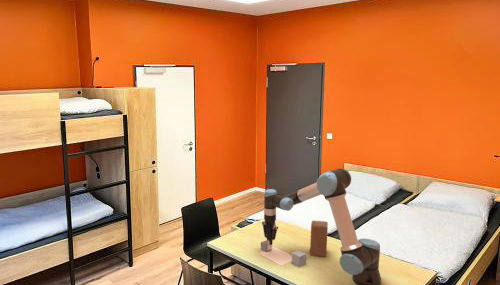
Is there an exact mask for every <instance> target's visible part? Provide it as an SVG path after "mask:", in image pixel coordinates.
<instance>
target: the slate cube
mask: <svg viewBox="0 0 500 285" xmlns="http://www.w3.org/2000/svg"><path fill="white" fill-rule="evenodd" d="M291 255H292V261H291V264H292V265H294V266H296V267H298V268H301V267H303V266H305V265H306V264H307V252H303V250H302V251H301V250H300V249H298V250H295V251H293V252H291Z"/></svg>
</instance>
